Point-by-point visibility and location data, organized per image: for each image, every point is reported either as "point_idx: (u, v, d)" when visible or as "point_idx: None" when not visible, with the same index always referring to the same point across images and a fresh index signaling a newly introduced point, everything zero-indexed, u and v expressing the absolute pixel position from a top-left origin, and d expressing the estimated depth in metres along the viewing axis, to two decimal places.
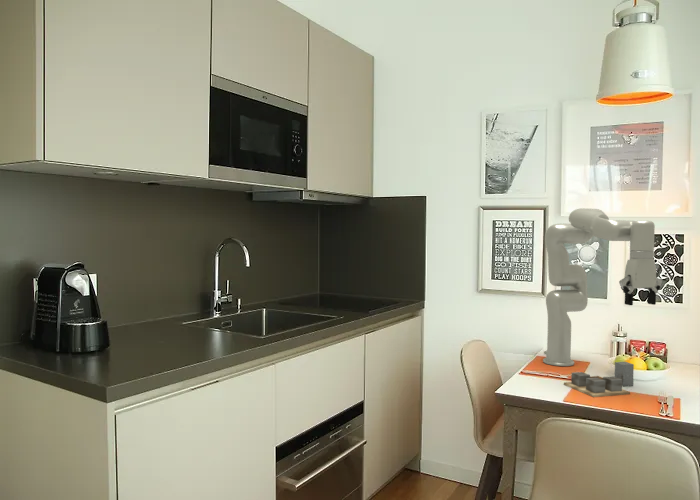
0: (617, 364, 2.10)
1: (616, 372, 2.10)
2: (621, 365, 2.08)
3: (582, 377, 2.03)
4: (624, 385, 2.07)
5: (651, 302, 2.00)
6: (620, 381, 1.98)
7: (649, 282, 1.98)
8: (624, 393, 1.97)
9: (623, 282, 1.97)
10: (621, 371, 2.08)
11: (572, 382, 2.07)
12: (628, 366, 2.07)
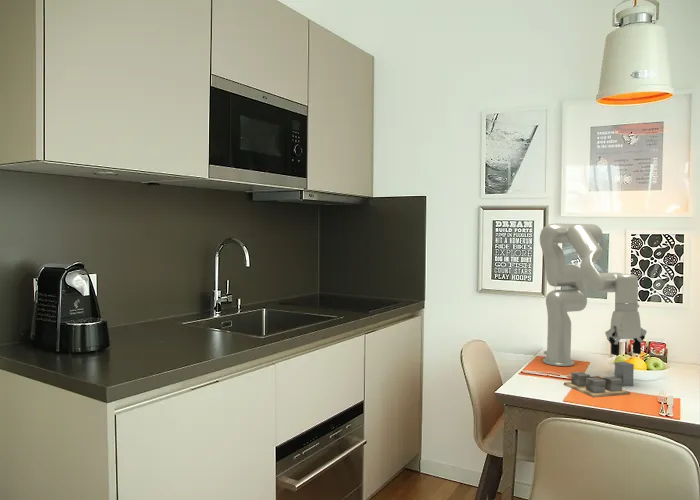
0: (617, 364, 2.10)
1: (616, 372, 2.10)
2: (621, 365, 2.08)
3: (582, 377, 2.03)
4: (624, 385, 2.07)
5: (636, 351, 2.10)
6: (620, 381, 1.98)
7: (634, 333, 2.07)
8: (624, 393, 1.97)
9: (609, 333, 2.06)
10: (621, 371, 2.08)
11: (572, 382, 2.07)
12: (628, 366, 2.07)
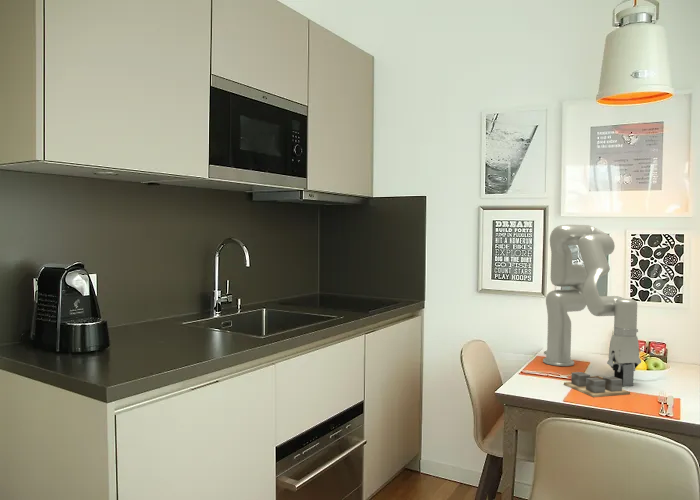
0: None
1: None
2: None
3: (582, 377, 2.03)
4: (624, 385, 2.07)
5: None
6: (620, 381, 1.98)
7: (632, 358, 2.08)
8: (624, 393, 1.97)
9: (611, 362, 2.07)
10: (621, 371, 2.08)
11: (572, 382, 2.07)
12: (628, 366, 2.07)
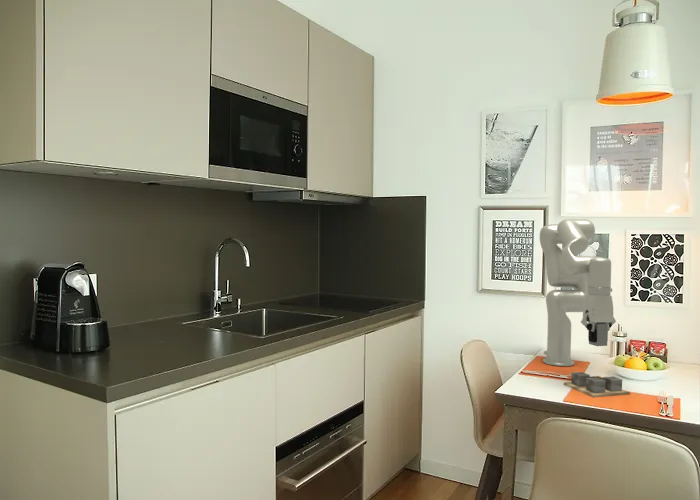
0: None
1: None
2: None
3: (582, 377, 2.03)
4: (598, 345, 2.05)
5: None
6: (620, 381, 1.98)
7: (606, 317, 2.05)
8: (624, 393, 1.97)
9: (584, 322, 2.05)
10: (595, 330, 2.05)
11: (572, 382, 2.07)
12: (602, 326, 2.05)
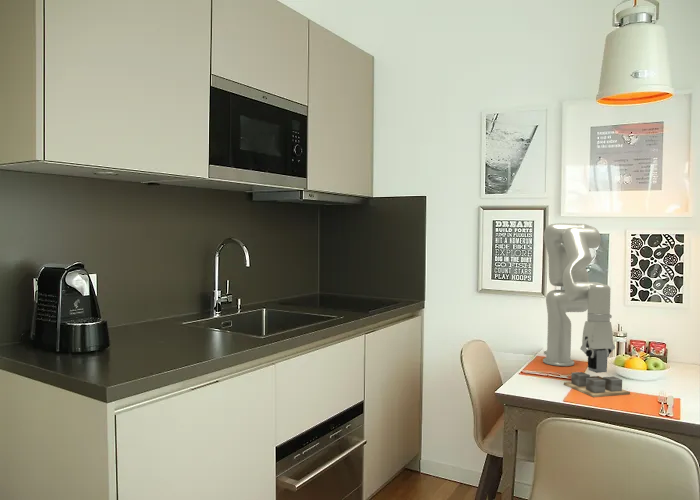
0: (591, 350, 2.07)
1: None
2: None
3: (582, 377, 2.03)
4: (598, 371, 2.05)
5: None
6: (620, 381, 1.98)
7: (605, 343, 2.05)
8: (624, 393, 1.97)
9: (584, 348, 2.05)
10: (595, 357, 2.05)
11: (572, 382, 2.07)
12: (602, 352, 2.05)
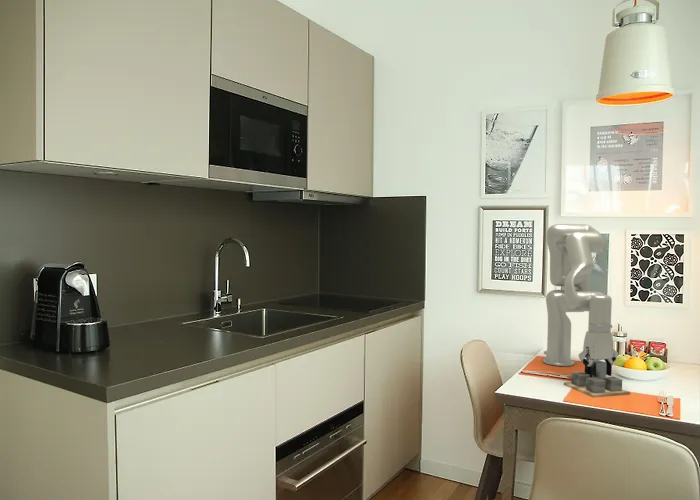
0: None
1: None
2: (594, 363, 2.06)
3: (582, 377, 2.03)
4: None
5: (607, 373, 2.09)
6: (620, 381, 1.98)
7: (606, 354, 2.06)
8: (624, 393, 1.97)
9: (582, 356, 2.05)
10: (594, 369, 2.06)
11: (572, 382, 2.07)
12: (601, 365, 2.05)
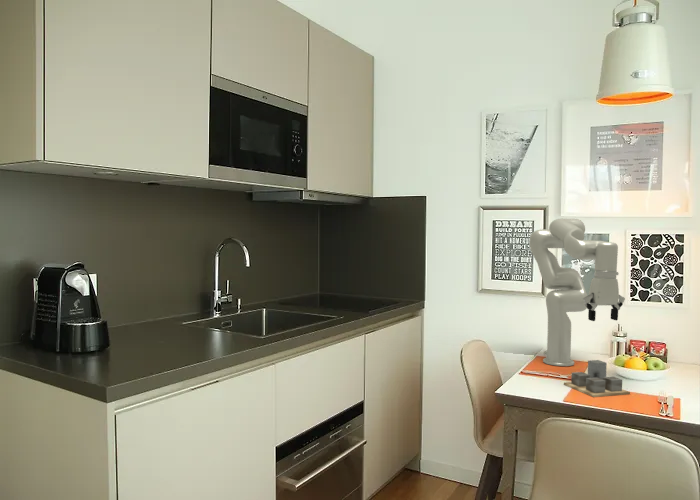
0: (590, 362, 2.08)
1: (589, 370, 2.08)
2: (594, 363, 2.06)
3: (582, 377, 2.03)
4: None
5: (613, 318, 2.15)
6: (620, 381, 1.98)
7: (611, 300, 2.12)
8: (624, 393, 1.97)
9: (586, 299, 2.11)
10: (594, 369, 2.06)
11: (572, 382, 2.07)
12: (601, 365, 2.05)
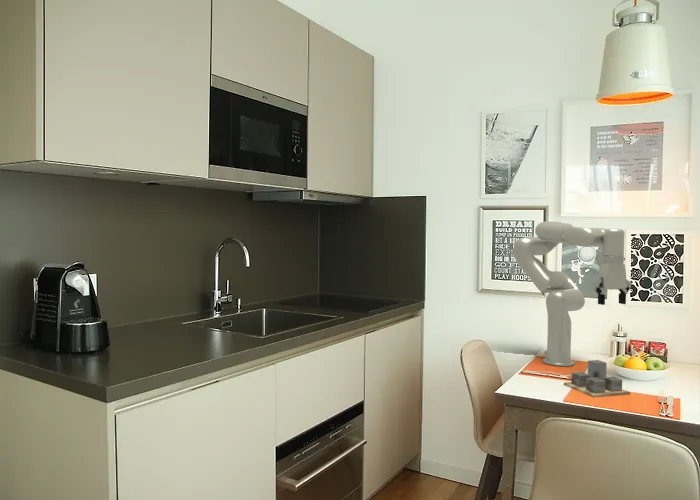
0: (590, 362, 2.08)
1: (589, 370, 2.08)
2: (594, 363, 2.06)
3: (582, 377, 2.03)
4: None
5: (622, 302, 2.22)
6: (620, 381, 1.98)
7: (619, 284, 2.19)
8: (624, 393, 1.97)
9: (596, 284, 2.19)
10: (594, 369, 2.06)
11: (572, 382, 2.07)
12: (601, 365, 2.05)
